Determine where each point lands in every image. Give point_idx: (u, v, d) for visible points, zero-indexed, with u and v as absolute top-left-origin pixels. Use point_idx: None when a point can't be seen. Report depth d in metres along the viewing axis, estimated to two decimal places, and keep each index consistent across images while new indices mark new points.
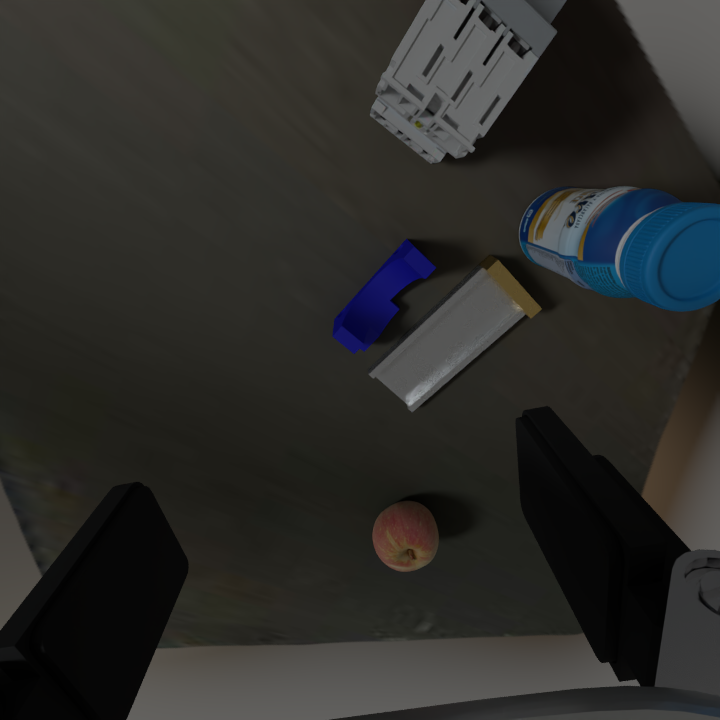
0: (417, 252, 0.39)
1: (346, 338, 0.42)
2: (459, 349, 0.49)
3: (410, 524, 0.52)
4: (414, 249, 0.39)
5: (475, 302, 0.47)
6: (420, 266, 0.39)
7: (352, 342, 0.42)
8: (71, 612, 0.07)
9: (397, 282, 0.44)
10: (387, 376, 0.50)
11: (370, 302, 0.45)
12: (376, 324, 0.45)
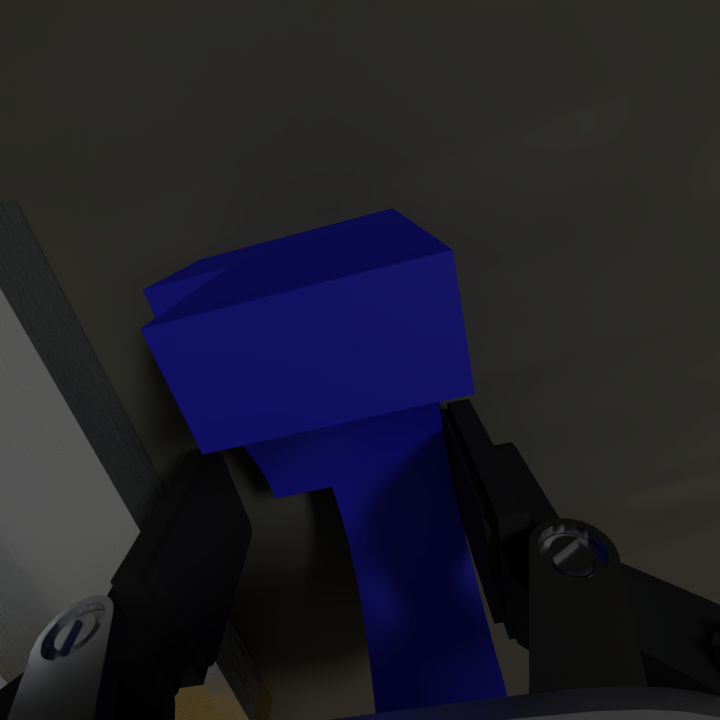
0: None
1: (340, 359, 0.04)
2: None
3: None
4: None
5: None
6: None
7: (269, 382, 0.04)
8: (175, 554, 0.08)
9: (385, 555, 0.11)
10: None
11: (380, 429, 0.09)
12: None
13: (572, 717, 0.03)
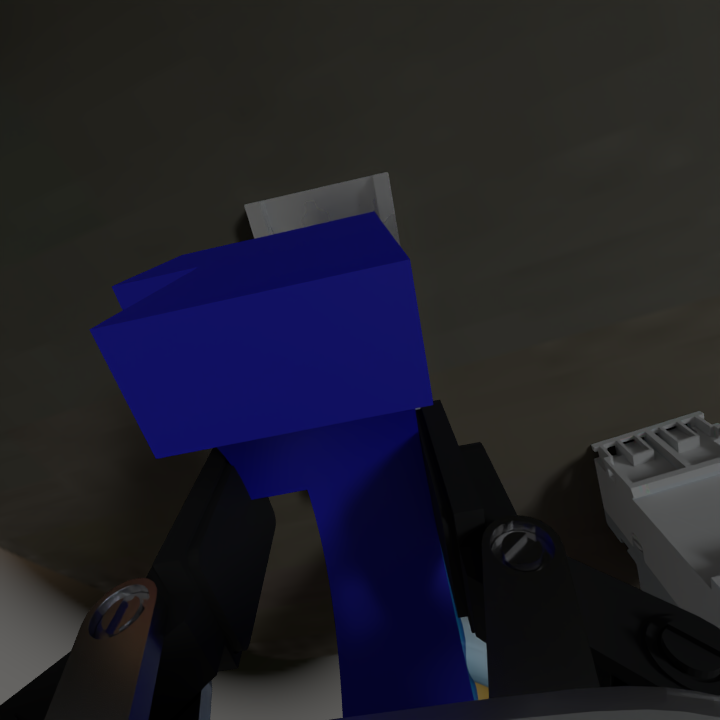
0: None
1: (296, 366, 0.04)
2: None
3: None
4: None
5: None
6: None
7: (224, 387, 0.04)
8: (212, 539, 0.08)
9: (359, 559, 0.11)
10: (347, 201, 0.22)
11: (356, 434, 0.09)
12: None
13: (572, 717, 0.03)
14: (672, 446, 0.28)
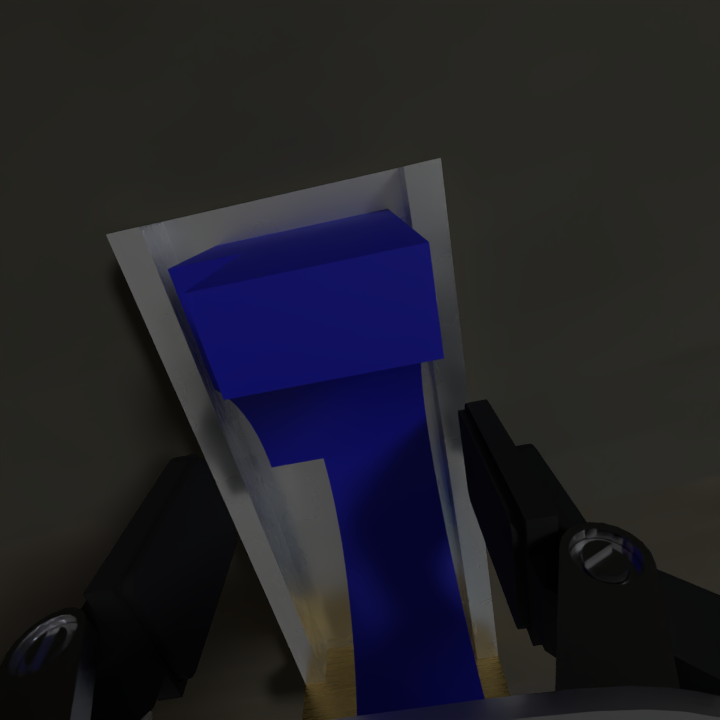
0: None
1: (339, 325, 0.05)
2: (293, 501, 0.14)
3: None
4: None
5: None
6: None
7: (282, 341, 0.05)
8: (152, 565, 0.08)
9: (369, 523, 0.12)
10: None
11: (368, 406, 0.10)
12: (271, 391, 0.09)
13: (571, 717, 0.03)
14: None
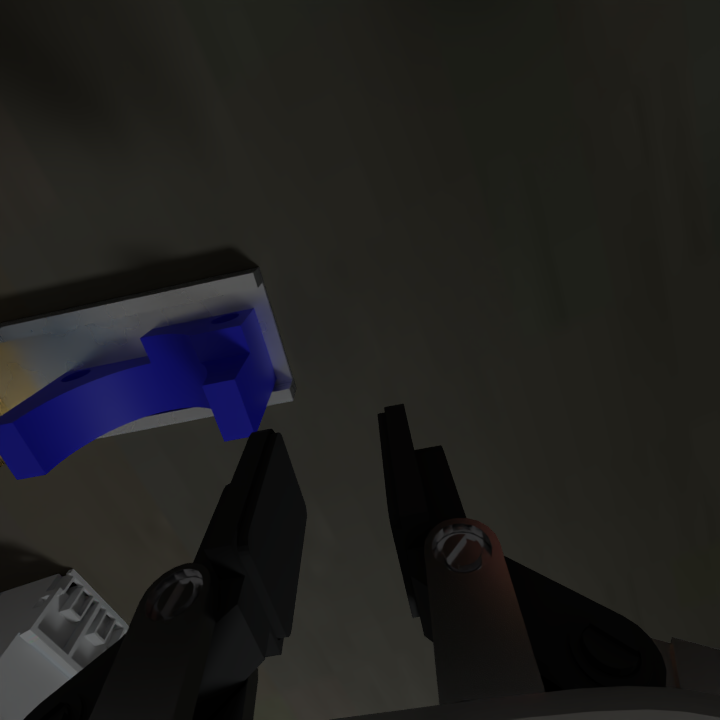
0: (13, 469, 0.20)
1: (230, 416, 0.19)
2: (105, 330, 0.23)
3: None
4: (17, 475, 0.20)
5: None
6: (15, 446, 0.19)
7: (223, 402, 0.18)
8: (257, 526, 0.08)
9: (116, 389, 0.22)
10: None
11: (186, 385, 0.23)
12: (190, 352, 0.21)
13: (572, 717, 0.03)
14: (88, 628, 0.31)
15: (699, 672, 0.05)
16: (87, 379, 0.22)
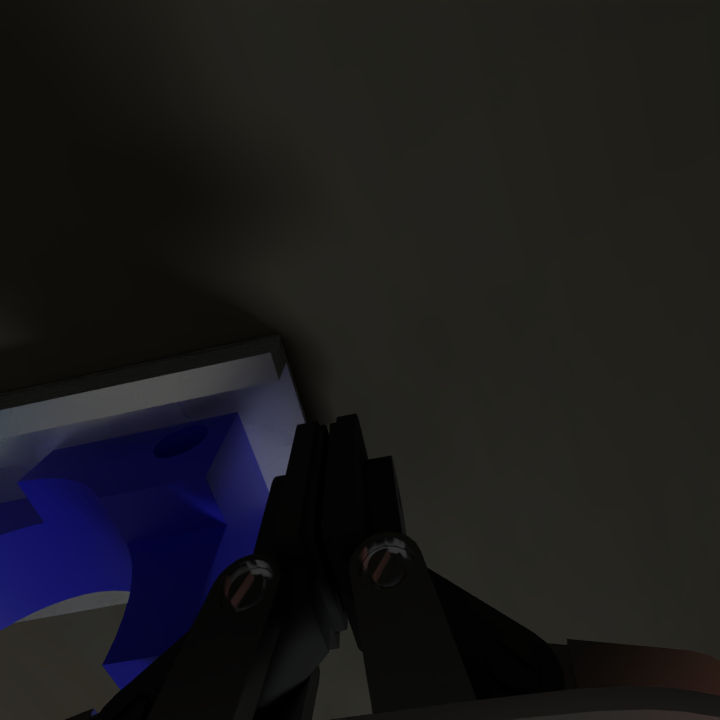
0: None
1: None
2: None
3: None
4: None
5: None
6: None
7: None
8: (318, 517, 0.08)
9: None
10: None
11: (113, 559, 0.12)
12: (108, 518, 0.11)
13: (572, 717, 0.03)
14: None
15: (592, 670, 0.05)
16: None
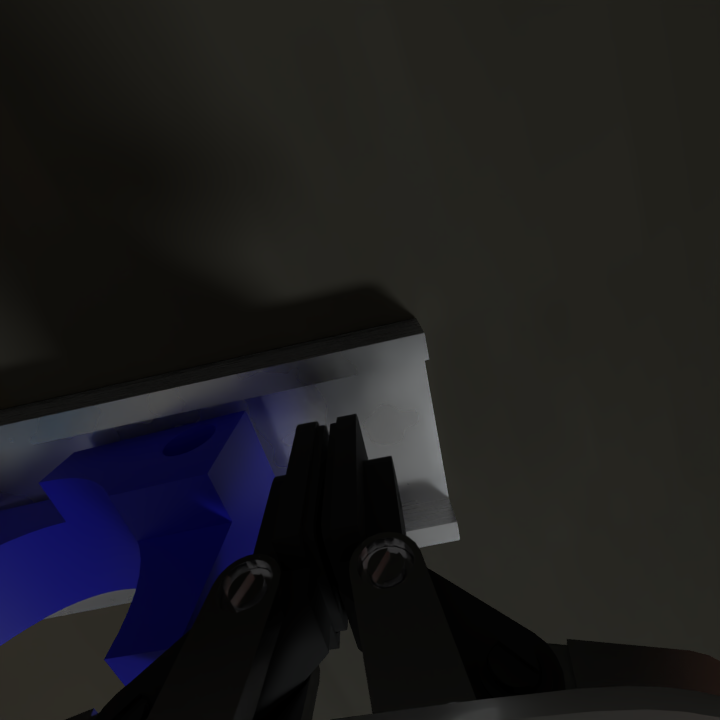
0: None
1: None
2: (141, 428, 0.13)
3: None
4: None
5: None
6: None
7: None
8: (318, 517, 0.08)
9: (10, 570, 0.12)
10: (414, 469, 0.14)
11: (131, 558, 0.12)
12: (120, 516, 0.11)
13: (571, 717, 0.03)
14: None
15: (592, 670, 0.05)
16: None
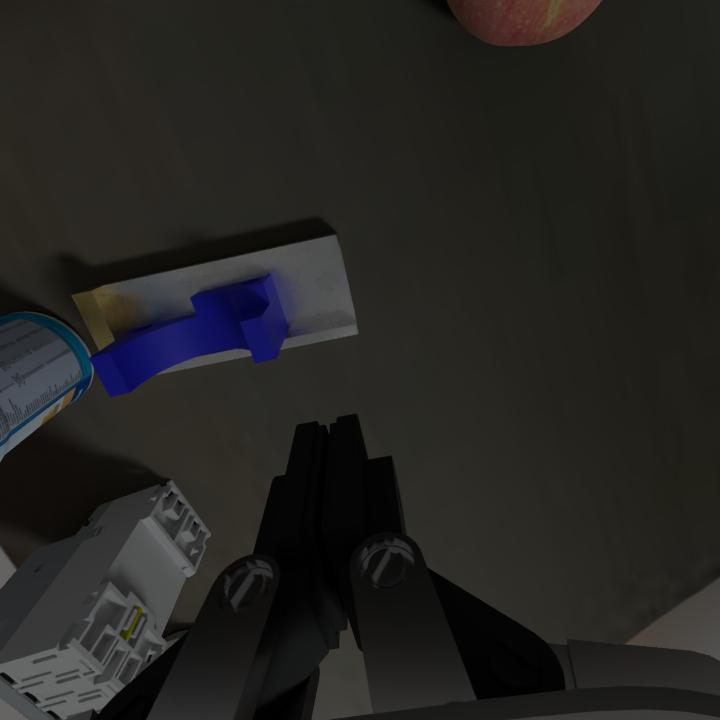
0: (108, 388, 0.28)
1: (259, 344, 0.27)
2: (220, 280, 0.31)
3: (488, 4, 0.20)
4: (110, 393, 0.28)
5: None
6: (110, 371, 0.27)
7: (254, 333, 0.27)
8: (318, 517, 0.08)
9: (173, 336, 0.31)
10: (339, 304, 0.32)
11: (223, 332, 0.31)
12: (226, 305, 0.29)
13: (572, 717, 0.03)
14: None
15: (592, 670, 0.05)
16: (152, 329, 0.30)
